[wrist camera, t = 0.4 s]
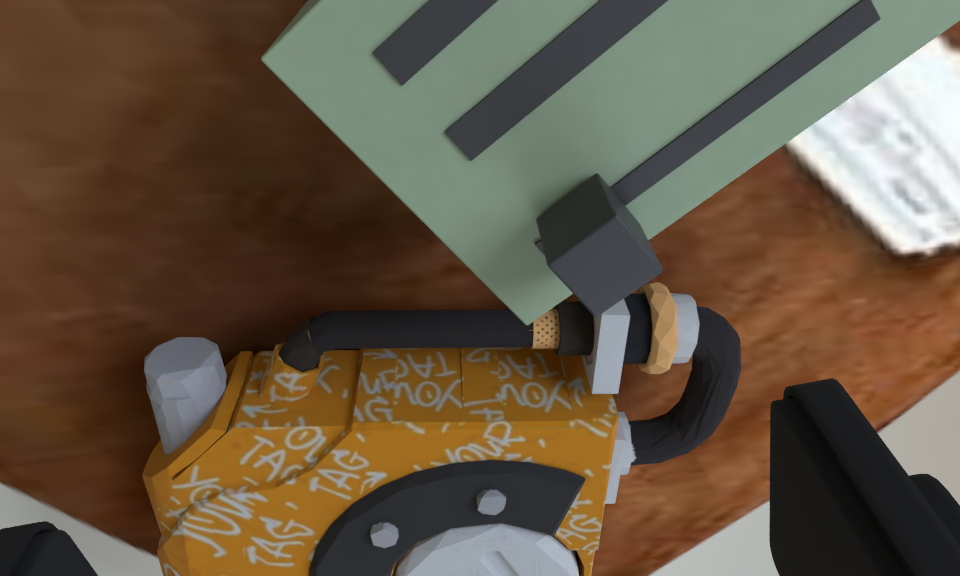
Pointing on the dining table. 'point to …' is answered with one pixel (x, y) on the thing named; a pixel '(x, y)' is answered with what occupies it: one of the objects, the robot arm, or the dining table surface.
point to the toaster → (578, 103)
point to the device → (421, 438)
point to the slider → (596, 246)
